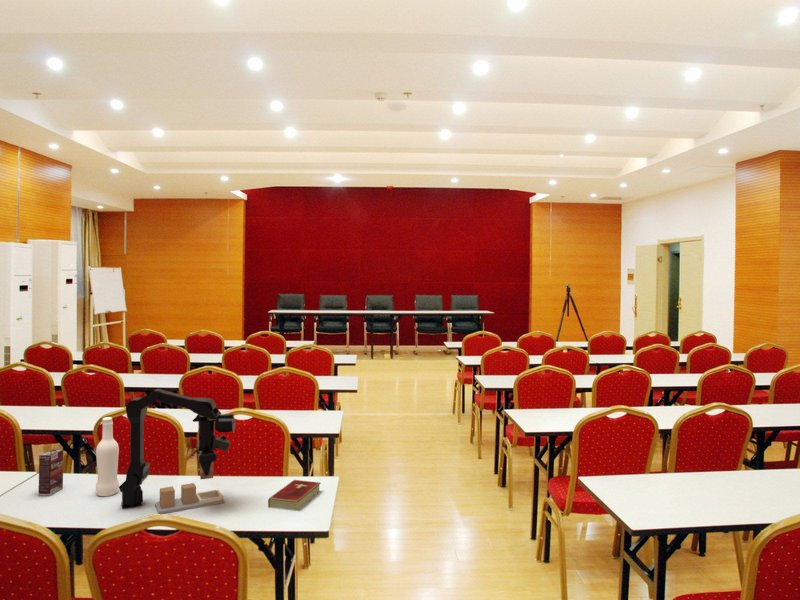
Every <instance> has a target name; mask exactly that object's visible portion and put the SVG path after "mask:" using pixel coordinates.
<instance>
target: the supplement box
mask: <svg viewBox="0 0 800 600" xmlns="http://www.w3.org/2000/svg"><path fill="white" fill-rule="evenodd" d="M38 457H39V458H38V496H40V497H51V496H52V495H53V494H56V493H58V492H60V491H61V490H63V488H64V449H58V448H57V449H55V448H54V449H51V450H49V451H47V452H44V453H42V454H39V455H38Z"/></svg>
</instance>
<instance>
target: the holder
mask: <svg viewBox="0 0 800 600" xmlns="http://www.w3.org/2000/svg"><path fill="white" fill-rule="evenodd" d="M180 488H181V489H180V496H181V497H180V498H179V497H178V498H175V497H176V495H175V494H176V490H175V488H174V486H172V485H171V486H166V487H160V488H159V501H157V502H154V506H155V509H156V511H157V514H158V513H159V514H160V515H164V514H170V513H176V512H182V511H187V510H192V509H198V508H203V507H204V508H205V507H209V506H213V505H219V504H220V505H221V504H225V499H224V495H223V494H222V493H221V491H220V490H219V489H211V490H207V491H201V492H197V485H196V484H195V482H192V483H191V482H190V483H185V484H181V487H180ZM159 514H158V515H159Z"/></svg>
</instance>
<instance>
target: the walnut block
mask: <svg viewBox="0 0 800 600" xmlns="http://www.w3.org/2000/svg"><path fill="white" fill-rule="evenodd" d="M213 478H214V461H213V462H212V463H211V466H210V470H209V475H208V476H205V474H204V472H203V469H202V467H201V465H200V464H199V479H200V480H208V479H213Z"/></svg>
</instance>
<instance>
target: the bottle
mask: <svg viewBox="0 0 800 600" xmlns="http://www.w3.org/2000/svg"><path fill="white" fill-rule="evenodd" d="M101 421H102V424H101V425H102V434H101V435H102V436H101V440H100V441H99V443H98V444H97V445H96V449H95V451H96V453H95V455H96V456H95V457H96V470H97V482H96V485H95V492H96V496H98V497H102V496H105V497H110V496H114V495H116V494H117V493H118V492H119V491H120V489H119V486H120V482H119V480H118V469H119V468H118V467H119V453H120V452H119V451H120V447H119V444H118V442H117V441H116V440H115V438H114V435H113V434H114V430H113V429H114V427H113V426H114V422H113V417H111V416H107V417H106V416H105V417H103V418H102V420H101Z"/></svg>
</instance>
